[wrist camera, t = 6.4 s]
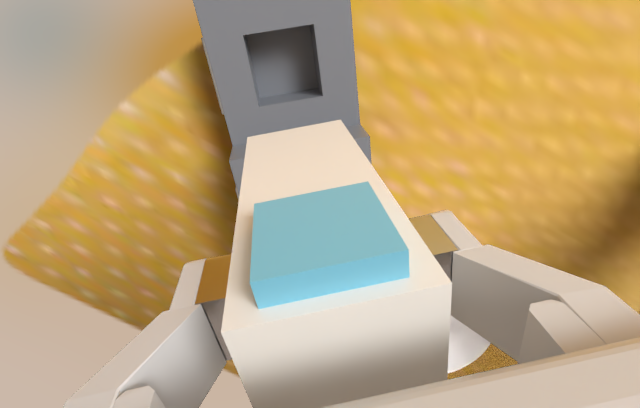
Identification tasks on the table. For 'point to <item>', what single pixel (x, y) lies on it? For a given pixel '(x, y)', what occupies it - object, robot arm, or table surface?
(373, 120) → the table surface
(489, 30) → the table surface
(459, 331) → the cup
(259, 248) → the plug
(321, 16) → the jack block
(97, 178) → the table surface
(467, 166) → the table surface
